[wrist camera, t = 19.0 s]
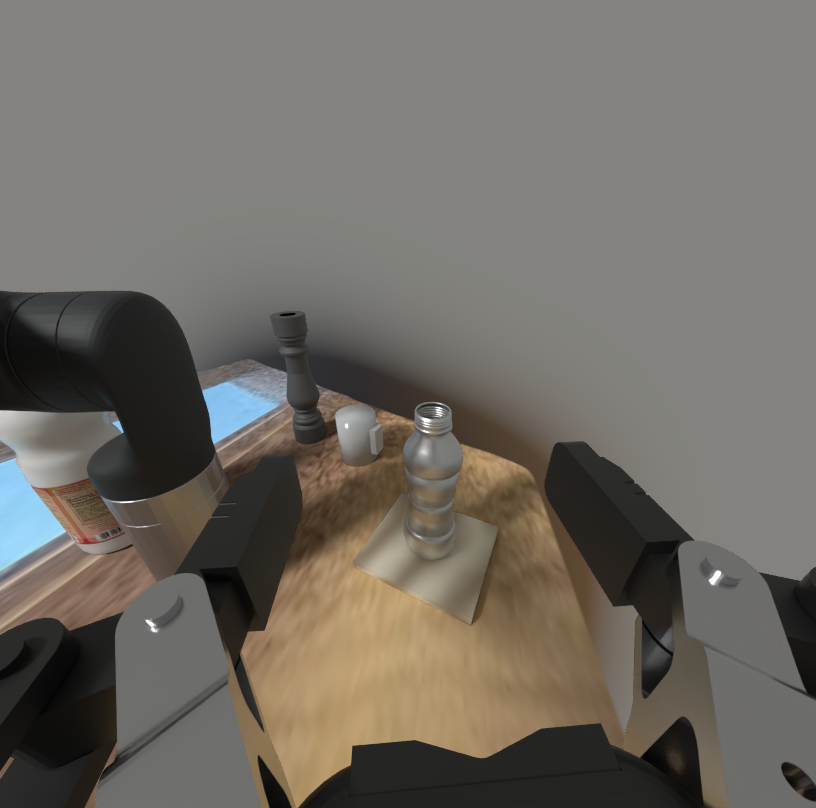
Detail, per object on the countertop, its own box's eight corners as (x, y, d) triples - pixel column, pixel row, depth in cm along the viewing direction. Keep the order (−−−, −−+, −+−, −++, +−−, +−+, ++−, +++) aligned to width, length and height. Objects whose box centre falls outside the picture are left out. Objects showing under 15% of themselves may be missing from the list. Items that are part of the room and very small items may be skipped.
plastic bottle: (427, 516, 44) (429, 389, 35) (465, 545, 40) (480, 410, 31) (393, 543, 41) (386, 410, 31) (432, 579, 36) (437, 437, 27)
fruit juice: (60, 555, 41) (-110, 352, 28) (122, 502, 49) (13, 326, 36) (128, 558, 41) (-12, 353, 27) (179, 504, 49) (90, 326, 36)
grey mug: (333, 460, 58) (326, 418, 54) (355, 440, 63) (350, 401, 59) (370, 472, 55) (366, 429, 50) (390, 451, 60) (388, 410, 56)
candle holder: (295, 446, 62) (266, 319, 50) (295, 430, 67) (270, 312, 55) (327, 441, 63) (306, 316, 52) (325, 425, 69) (306, 309, 57)
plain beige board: (354, 567, 39) (353, 561, 38) (402, 498, 49) (401, 492, 49) (470, 625, 33) (471, 619, 32) (497, 533, 43) (498, 527, 43)
